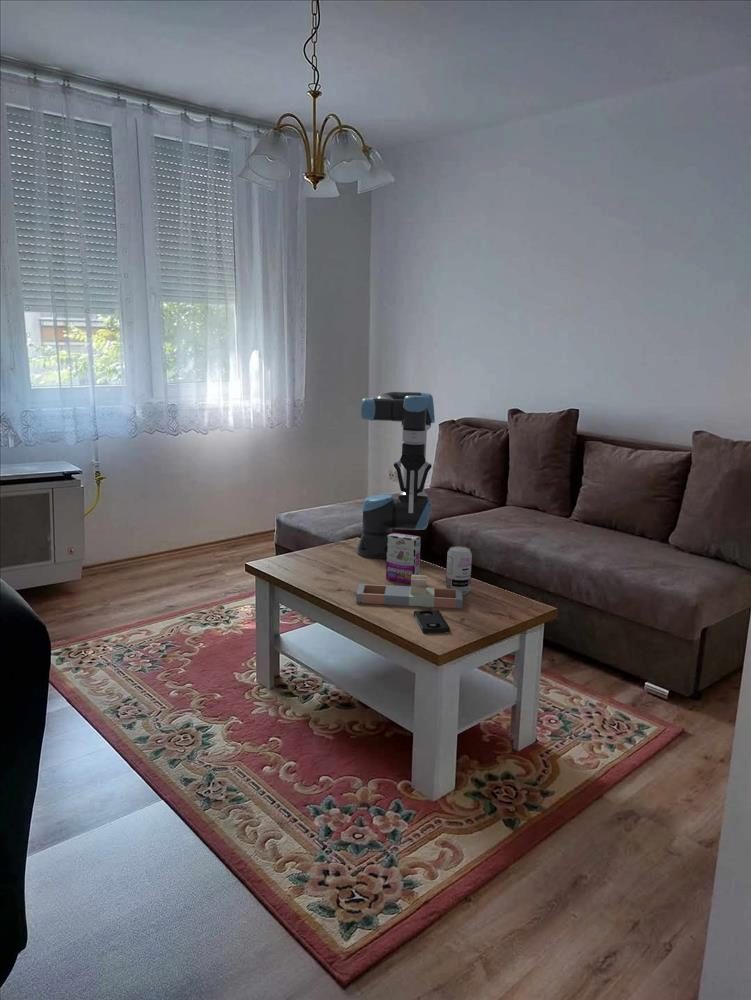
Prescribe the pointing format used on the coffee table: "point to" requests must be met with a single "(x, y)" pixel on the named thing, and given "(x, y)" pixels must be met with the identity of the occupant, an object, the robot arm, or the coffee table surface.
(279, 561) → the coffee table surface
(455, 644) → the coffee table surface
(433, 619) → the vhs tape
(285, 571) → the coffee table surface
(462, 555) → the supplement can
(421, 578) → the birch block
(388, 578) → the candy bar box
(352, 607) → the coffee table surface
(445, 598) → the trap runway
